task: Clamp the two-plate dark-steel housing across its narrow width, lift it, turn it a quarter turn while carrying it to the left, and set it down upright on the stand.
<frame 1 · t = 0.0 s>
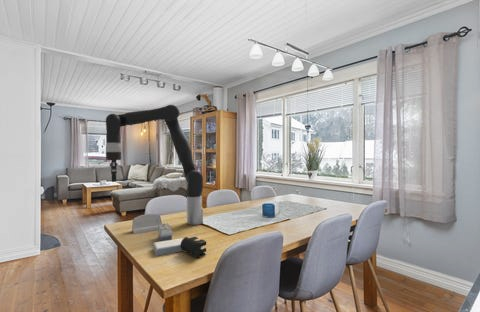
hand: (114, 180, 137), 29 cm above the table, fingers open, 8 cm apart
housing: (165, 240, 128), on the table
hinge: (147, 230, 145), on the table
stand: (170, 249, 116), on the table
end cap: (193, 254, 110), on the table
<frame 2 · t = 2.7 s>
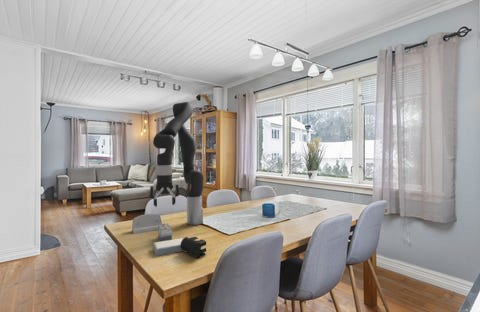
hand: (164, 205, 128), 18 cm above the table, fingers open, 8 cm apart
nothing on the table moved.
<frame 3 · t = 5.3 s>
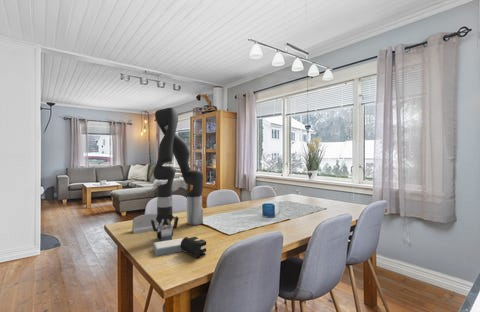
hand: (164, 237, 128), 1 cm above the table, fingers closed on housing, 5 cm apart
housing: (165, 239, 128), on the table, touching gripper
everything else where it was.
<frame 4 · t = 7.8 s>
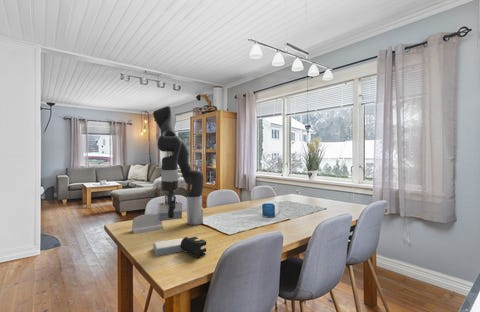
hand: (169, 216, 116), 15 cm above the table, fingers closed on housing, 5 cm apart
housing: (169, 218, 116), point 14 cm above the table, touching gripper
everything else where it was.
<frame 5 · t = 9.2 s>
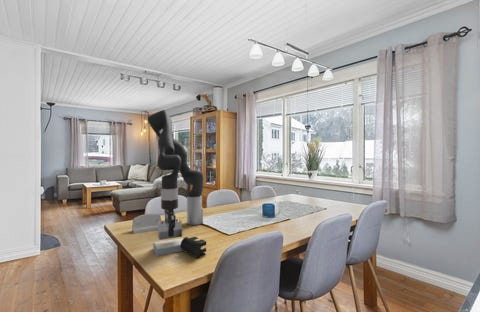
hand: (169, 234, 116), 7 cm above the table, fingers closed on housing, 5 cm apart
housing: (169, 236, 116), point 6 cm above the table, touching gripper
everything else where it was.
when the fingers open (5 cm above the table, at t = 10.4 s): housing drops 1 cm, resting on stand.
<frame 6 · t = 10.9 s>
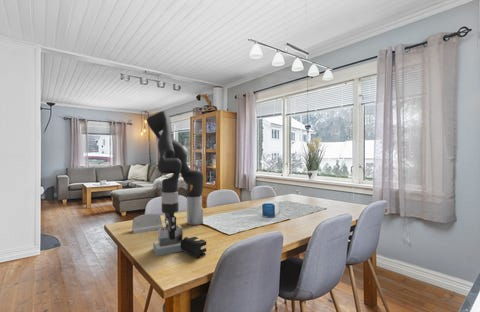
hand: (170, 236, 116), 6 cm above the table, fingers open, 8 cm apart
housing: (170, 242, 116), point 3 cm above the table, touching stand
everything else where it was.
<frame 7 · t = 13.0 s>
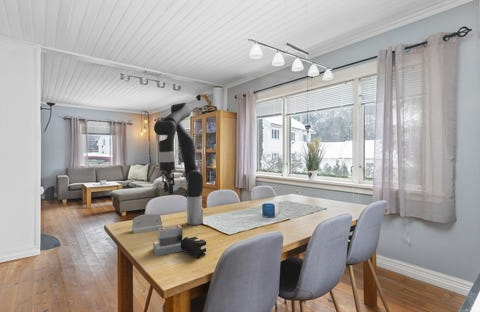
hand: (168, 192, 126), 24 cm above the table, fingers open, 8 cm apart
nothing on the table moved.
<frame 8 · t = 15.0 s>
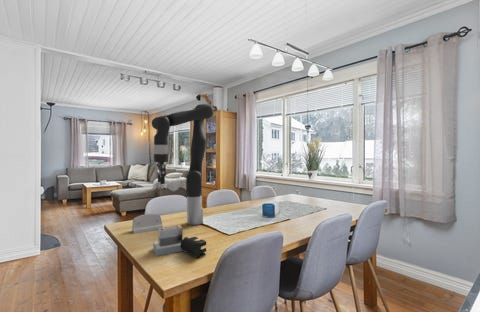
hand: (161, 183, 137), 28 cm above the table, fingers open, 8 cm apart
nothing on the table moved.
at the end: housing inside the target area on the stand (0.2 cm from its centre), point 3.0 cm above the stand's base; housing tilted 0°; housing touching stand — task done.
